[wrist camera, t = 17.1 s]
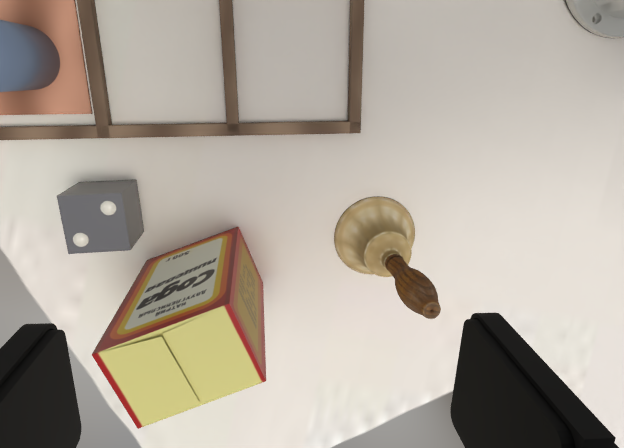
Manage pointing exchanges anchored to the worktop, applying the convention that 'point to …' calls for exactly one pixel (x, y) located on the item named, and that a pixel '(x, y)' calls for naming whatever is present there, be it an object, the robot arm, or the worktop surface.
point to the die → (101, 216)
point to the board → (74, 88)
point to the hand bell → (385, 250)
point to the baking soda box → (187, 330)
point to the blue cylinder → (26, 58)
